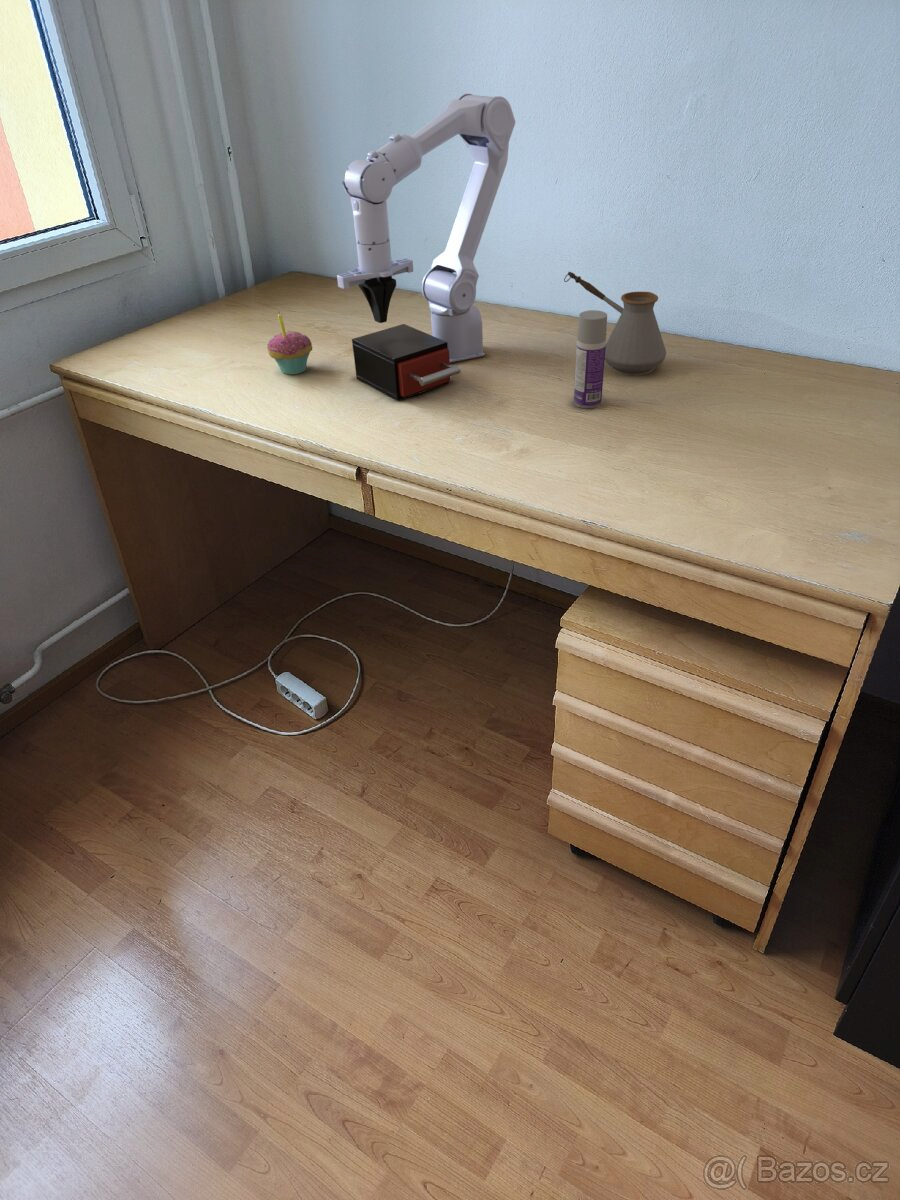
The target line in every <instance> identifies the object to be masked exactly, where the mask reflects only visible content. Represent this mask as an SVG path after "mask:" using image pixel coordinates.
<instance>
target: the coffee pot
mask: <svg viewBox="0 0 900 1200" xmlns="http://www.w3.org/2000/svg"><path fill="white" fill-rule="evenodd" d="M567 277H569V278H568V279H567ZM566 279H567V280H566ZM571 279H573V280H574V281H575V283H577V284H580V286H581V287H583V288H584V289H585V290H586V291H587V292H589V293H590V294H591V295H594V296H595V297H597V298H598V299H600V300H602V301H604V302H605V303H606V304H607V305H609V306H610V307H612V308H613V309H614V310H615V311H616V312H618V313H620V316H619V318H618V319H617V322H616V323H615V326H614V327H613V329H612V331H611V334H610V335H609V337H608V339H607V340H606V350H605V362H606V364H607V365H608V366H609V367H610V368H611V369H612V370H613V371H614V372H615V373H618V374H620V375H626V376H642V375H648V374H650V373H652V372H653V371H654V369H656V368H658V367H659V366H660V365H661V364H662V363H663V362H664V361H665V359H666V356H667V350H666V347H665V343H664V340H663V337H662V333H661V330H660V327H659V323H658V320H657V318H656V317H657V316H656V313H655V311H654V307H655V304H656V303H657V302H658V300H659V296H658V295H657V294H655V293H654V292H652V291H631V292H626V293H624V294H622V295H621V296H620V300H621V301H622V302H623V307H622V306H621V305H619V304H618V303H616V302H614V300H612V299H610V298H609V297H608V296H606V295H605V294H604V293H603V292H602V291H600V290H599V289H598V288H596V287H595V286H594V285H593V284H592V283H590V282H588V281H586V280H584V279H582V277H581V276H580V275H579V276H577V275H576V273H574V272H573V271H568V272H567V274H566V275H565V276H564V278H563V282H564V283H567V282H569V281H570V280H571Z"/></svg>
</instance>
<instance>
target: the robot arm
mask: <svg viewBox="0 0 900 1200" xmlns="http://www.w3.org/2000/svg"><path fill="white" fill-rule="evenodd" d="M515 126H516V119H515V116H514V112H513V109H512V106H511V103H510V102H509V100H507V98H505V97H504V96H500V95H498V96H497V95H496V96H486V95H477V94H476V95H475V94H472V93H463V94H461V95H460V96H459V97H457V98H456V99H453V100H451V101H449V103H448V104H447V106H446V108H445V109H443V110H442V111H441V112H439V113H438V114H437V115H436V116H434V117H433V118H432V119H431V120H430V121H428V122H427V123H426V124H424V125H423V126H422V127H421V128H419V129H418V130H417V131H416V132H415V133H413V134H411V136H410V135H408V134H406V133H400V134H399V133H393V134H391V135H390V136H388V139H389V142H387V143H385V144H384V145H382V146H381V147H379V148H378V149H377V150H371V151H369V152H368V153H367V157H366V159H365V160H364V159H356V160H354V161H352V162H351V163H349V165H348V166H347V168H346V170H345V174H344V179H343V180H342V181H341V182H342V183H341V184H342V187H343V190H344V192H345V193H346V195H347V196H348V197H349V199H350V206H351V207H352V208H351V209H352V216H353V225H354V235H355V244H356V255H357V262H358V263H357V264H358V267H355V268H354V269H351V270H349V271H346V272H344V273H341V274H337V275H336V279H337V287H338V288H339V289H342V290H348V289H349V288H350V287H354V286H358V287H359V289H360V291H361V292H362V294H363V296H364V298H365V299H366V301H367V304H368V305H369V307H370V310H371V313H372V317H373V320H374V322H375V323H376V322H377V323H379V324H383V323H387V321H388V314H389V308H390V303H391V301H392V300H391V299H392V297H393V294H394V291H395V289H396V288H397V279H395V278H393V276H397V275H400V274H401V275H402V274H404V273H405V274H406V273H408V274H409V273H414V260H412V259H410V258H407V257H406V258H401V259H395V260H392V250H391V239H390V238H391V237H390V228H389V226H390V225H389V217H388V216H389V215H388V204H387V200H388V199H389V198H390V196H391V194H392V191H393V187H394V186H396V185H397V184H399V183H400V182H402V181H403V180H405V179H406V178H407V177H409V176H410V175H411V174H412V173H414V172H416V171H418V169H420V167H421V166H422V160H423V157H424V156H425V155H427V154H428V153H430V152H431V151H433V150H435V149H436V148H438V147H440V146H441V145H443V144H445V143H446V142H448V141H449V140H451V139H453V138H454V137H456V136H457V135H459V137H460V139H461V140H462V142H464V144H465V145H466V147H467V148H468V150H469V151H470V153H471V156H472V159H473V161H474V162H473V165H472V169H471V171H470V175H469V178H468V181H467V183H466V187H465V190H464V193H463V195H462V199H461V201H460V205H459V208H458V211H457V214H456V216H455V220H454V223H453V226H452V229H451V232H450V235H449V238H448V241H447V243H446V247H445V250H444V251H443V252H442V253H440V254H439V255H437V256H436V257H435V258H434V259H433V260H432V264H431V266H430V268H429V269H428V271H427V272H426V273H425V275H424V276H423V278H422V281H421V294H422V296H423V298H424V299H425V300H426V301H427V302H428V308H429V309H430V323H431V325H430V326H431V335H432V336H434V337H436V338H439V339H441V340H443V341H446V342H447V344H448V346H447V347H448V350H449V359H450V364H451V363H455V362H461V361H467V360H470V359H475V358H476V359H477V358H480V357H484V356H485V352H484V342H483V340H484V336H483V318H482V314H481V310H480V309H479V308H478V306H477V305H474V303H475V300H476V297H477V283H478V280H479V278H480V275H479V273H478V271H477V268H476V266H475V264H474V260H475V257H476V255H477V252H478V249H479V245H480V242H481V239H482V237H483V234H484V230H485V228H486V225H487V222H488V219H489V216H490V214H491V211H492V208H493V205H494V202H495V199H496V196H497V193H498V190H499V187H500V184H501V181H502V178H503V176H504V173H505V170H506V167H507V164H508V160H509V159H508V158H509V146H510V140H511V137H512V134H513V131H514V129H515Z"/></svg>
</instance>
